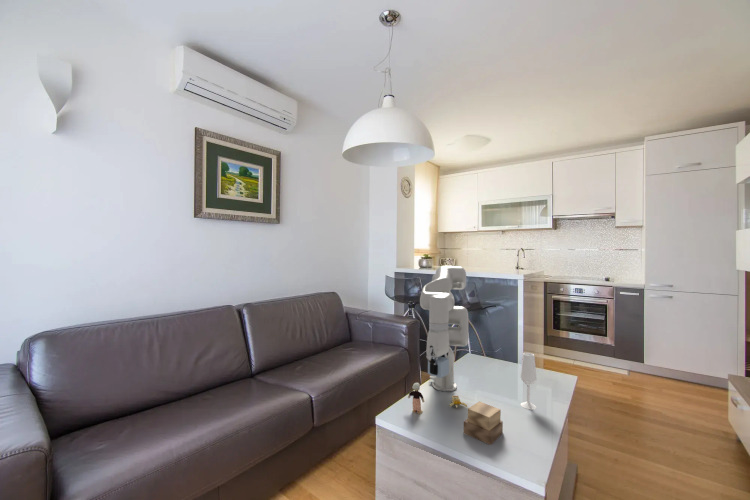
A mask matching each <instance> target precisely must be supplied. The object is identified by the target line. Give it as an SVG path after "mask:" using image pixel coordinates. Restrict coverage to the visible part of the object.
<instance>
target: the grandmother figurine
mask: <svg viewBox="0 0 750 500" xmlns="http://www.w3.org/2000/svg"><path fill="white" fill-rule="evenodd" d="M411 388H412V389H413V390H412V391H410V392H409V393H408V396H407V399H410V398H411V397H412V413H414V414H416V413H417V414H418V415H421V414H423V410H422V405H421V404H422V403H425V399H424V395H423V394H422V393H421V392H420V388H421V385H420V383H419V382H414V383H413V385H412V387H411ZM421 402H422V403H421Z"/></svg>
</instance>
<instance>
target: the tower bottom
mask: <svg viewBox="0 0 750 500" xmlns="http://www.w3.org/2000/svg"><path fill="white" fill-rule="evenodd" d="M503 424H504V421H503V420H502V419H500V423H499V424H498V425H496V426H495V427H494V428H492V429H491V430H490V431H488V430H486V429H484V428H482V427H479V426H477V425H475V424H473V423H470V422H468V417H466V419H465V420H464V421H463V434H464V435H466V436H469V437H471V438H473V439H475V440H478V441H481V443H485V444H488V445H489V446H492V444H494V443H495V441H497V440H498V439H499V438H500V437H501V435H502V434H504V433H503V430H504V428H503V426H504V425H503Z"/></svg>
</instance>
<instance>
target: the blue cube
mask: <svg viewBox="0 0 750 500" xmlns="http://www.w3.org/2000/svg"><path fill="white" fill-rule="evenodd" d="M433 360H435V358H434V357H433ZM437 365H438V374H437V375H434V374H431V373H430V363H429V361H428V360H427V375H429V376H430V375H433V376H436V377H439V378H442V377H444V376H446V375H448V374H449V359H448V358H444V357H441V356H440V357H438V360H437Z"/></svg>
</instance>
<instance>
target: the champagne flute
mask: <svg viewBox="0 0 750 500" xmlns="http://www.w3.org/2000/svg"><path fill="white" fill-rule="evenodd" d="M520 379H521V380H522V381H523V383H524V384H525V385H526V401H523V402H521V403H520V407H522V408H524V409H526V410H536V409H537V406H536V405H535V404H533V403H532V402H531V400H530V399H531V395H530V394H531V393H530V392H531V391H530V390H531V386H532V385H533V384H535V383H536V382H537V370H536V357H535V354H534V353H532V352H523V353H522V360H521V369H520Z"/></svg>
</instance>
